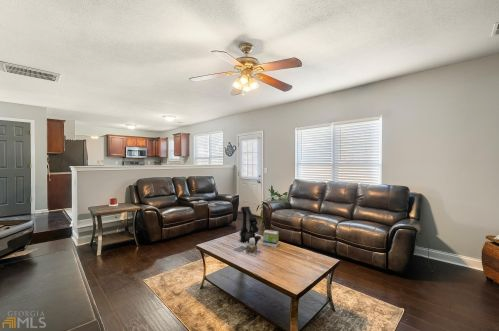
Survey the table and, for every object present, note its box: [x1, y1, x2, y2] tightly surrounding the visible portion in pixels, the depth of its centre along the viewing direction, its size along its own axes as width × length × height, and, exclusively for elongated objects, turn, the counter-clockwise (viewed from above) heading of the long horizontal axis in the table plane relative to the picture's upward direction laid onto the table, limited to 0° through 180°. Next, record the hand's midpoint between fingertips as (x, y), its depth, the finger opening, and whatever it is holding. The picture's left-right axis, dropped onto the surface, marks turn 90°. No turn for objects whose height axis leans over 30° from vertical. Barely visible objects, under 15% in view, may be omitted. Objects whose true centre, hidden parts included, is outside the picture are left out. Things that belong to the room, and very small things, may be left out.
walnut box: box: [245, 244, 258, 254], centre depth 228 cm, size 12×5×6 cm, turn 143°
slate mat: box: [233, 245, 246, 253], centre depth 232 cm, size 9×13×1 cm
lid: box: [245, 241, 255, 248], centre depth 228 cm, size 10×6×3 cm, turn 143°
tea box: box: [262, 229, 280, 248], centre depth 244 cm, size 15×10×15 cm
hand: (251, 244), depth 228 cm, fingers open, 9 cm apart
